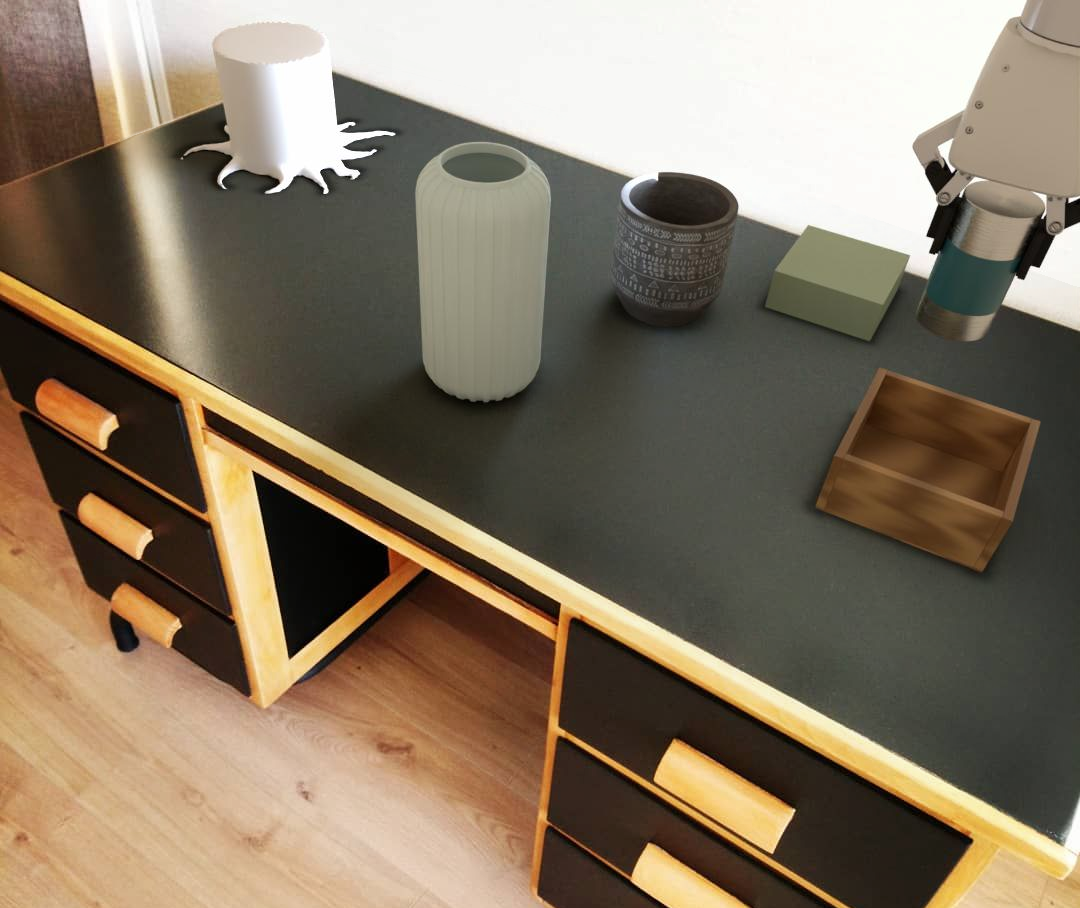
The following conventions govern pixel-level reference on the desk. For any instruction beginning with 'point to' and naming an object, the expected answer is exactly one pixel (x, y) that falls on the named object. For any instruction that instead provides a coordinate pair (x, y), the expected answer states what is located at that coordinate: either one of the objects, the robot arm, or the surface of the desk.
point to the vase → (482, 269)
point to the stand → (837, 282)
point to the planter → (671, 246)
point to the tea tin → (978, 260)
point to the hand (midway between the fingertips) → (979, 257)
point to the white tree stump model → (280, 104)
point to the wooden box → (931, 468)
